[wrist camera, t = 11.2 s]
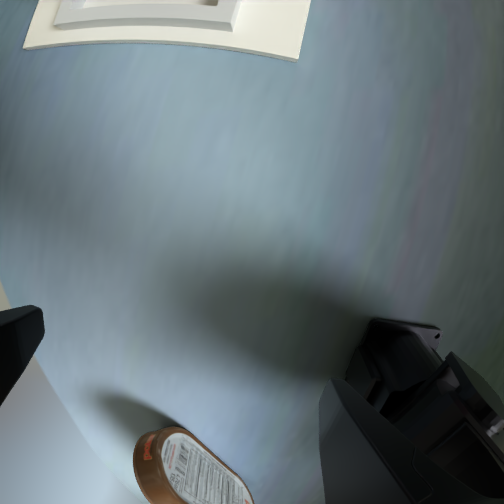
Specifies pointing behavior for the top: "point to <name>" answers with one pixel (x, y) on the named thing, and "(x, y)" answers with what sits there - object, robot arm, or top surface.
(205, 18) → the charging cradle
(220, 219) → the top surface
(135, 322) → the top surface
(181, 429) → the tin
